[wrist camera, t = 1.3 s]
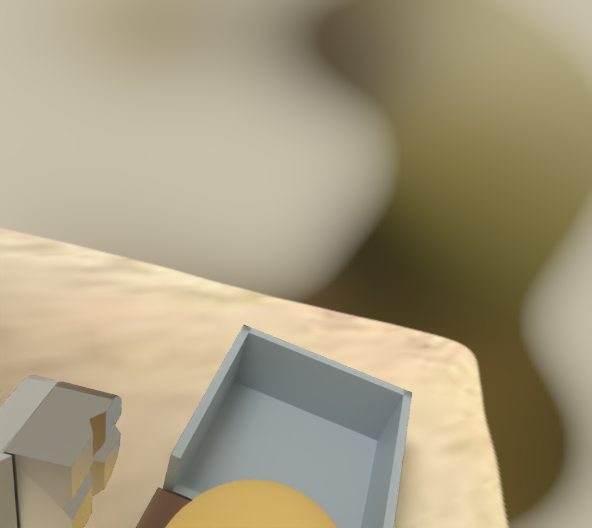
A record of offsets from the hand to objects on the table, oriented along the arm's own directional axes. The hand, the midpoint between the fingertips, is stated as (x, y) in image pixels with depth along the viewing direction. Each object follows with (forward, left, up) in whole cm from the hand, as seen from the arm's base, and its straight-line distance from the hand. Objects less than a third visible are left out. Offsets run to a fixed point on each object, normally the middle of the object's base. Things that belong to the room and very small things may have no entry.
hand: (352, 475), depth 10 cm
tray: (0, +20, -27) cm, 34 cm away
